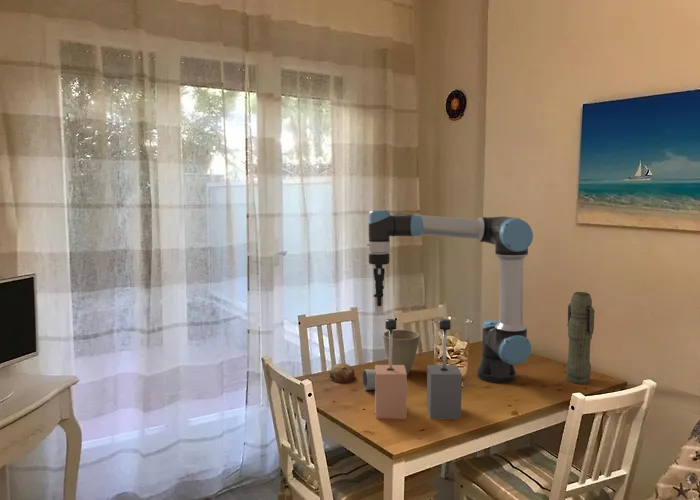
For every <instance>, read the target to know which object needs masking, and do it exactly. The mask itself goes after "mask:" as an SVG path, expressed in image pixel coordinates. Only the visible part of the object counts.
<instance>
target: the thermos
mask: <svg viewBox="0 0 700 500" xmlns="http://www.w3.org/2000/svg"><path fill="white" fill-rule="evenodd" d="M594 328H595V309H594V307H593V300H592V297H591V294H590V293H588V292H585V291H584V292H583V291H576V292H574V293H573V294H572V296H571V300H570V303H569V304H568V306H567V329H568V330H567V337H568V350H567V351H568V353H567V354H568V355H567V356H568V357H567V358H568V359H567V361H566V364H565V365H566V366H565V367H566V368H565V372H566V373H565V374H566V378H565V379H566V381H567V382H568V383H571V384H576V385H587V384H589V383H590V378H591V368H592V366H591V365H592V364H591V362H590V359H591V358H590V357H591V355H590V354H591V341H592V338H593V334H594Z"/></svg>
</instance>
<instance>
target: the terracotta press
mask: <svg viewBox="0 0 700 500" xmlns="http://www.w3.org/2000/svg"><path fill="white" fill-rule="evenodd" d="M374 370H375V390H374V411H375V419H407V400H408V399H407V397H408V396H407V393H408V392H407V389H408V388H407V385H408V384H407V381H408V379H407V378H408V374H407V373H406V370H405V366H404V365H392V371H389V364H374Z"/></svg>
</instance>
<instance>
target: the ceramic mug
mask: <svg viewBox="0 0 700 500" xmlns="http://www.w3.org/2000/svg"><path fill="white" fill-rule="evenodd" d="M362 385H363V390H365V391H375V369H364V370H363V373H362Z"/></svg>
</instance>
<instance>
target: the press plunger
mask: <svg viewBox="0 0 700 500" xmlns="http://www.w3.org/2000/svg"><path fill="white" fill-rule="evenodd" d="M385 330H387V331H389V362H388V365H389V371H392V352H393V330H397V319H394V318H388V319H385Z"/></svg>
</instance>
